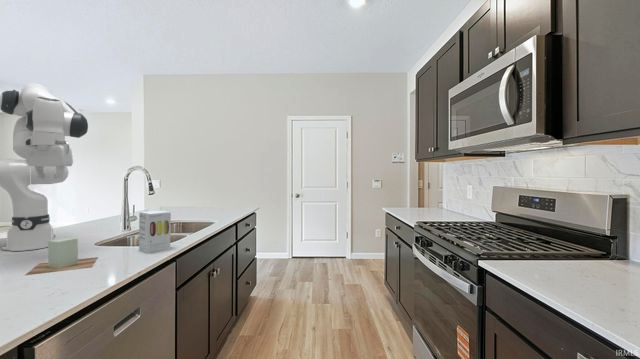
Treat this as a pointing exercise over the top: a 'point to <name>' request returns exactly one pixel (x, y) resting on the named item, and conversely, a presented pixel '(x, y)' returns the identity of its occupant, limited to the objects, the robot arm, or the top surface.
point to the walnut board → (81, 264)
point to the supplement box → (154, 231)
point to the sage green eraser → (62, 252)
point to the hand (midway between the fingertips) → (49, 178)
